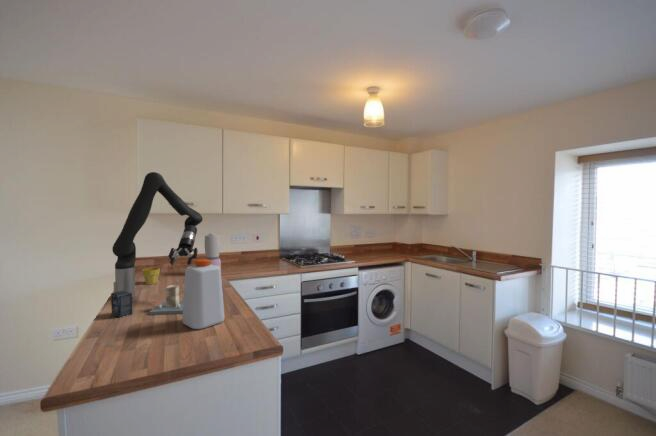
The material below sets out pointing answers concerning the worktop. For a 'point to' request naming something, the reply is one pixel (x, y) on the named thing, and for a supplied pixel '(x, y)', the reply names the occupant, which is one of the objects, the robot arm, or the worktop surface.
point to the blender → (213, 248)
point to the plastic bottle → (203, 295)
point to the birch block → (172, 296)
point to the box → (121, 303)
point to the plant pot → (151, 275)
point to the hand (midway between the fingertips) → (180, 264)
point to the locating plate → (167, 309)
